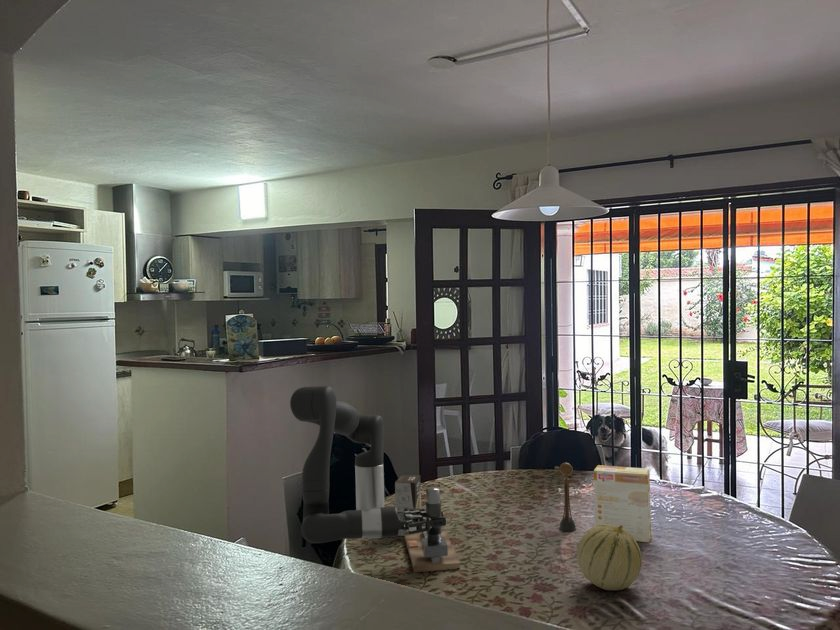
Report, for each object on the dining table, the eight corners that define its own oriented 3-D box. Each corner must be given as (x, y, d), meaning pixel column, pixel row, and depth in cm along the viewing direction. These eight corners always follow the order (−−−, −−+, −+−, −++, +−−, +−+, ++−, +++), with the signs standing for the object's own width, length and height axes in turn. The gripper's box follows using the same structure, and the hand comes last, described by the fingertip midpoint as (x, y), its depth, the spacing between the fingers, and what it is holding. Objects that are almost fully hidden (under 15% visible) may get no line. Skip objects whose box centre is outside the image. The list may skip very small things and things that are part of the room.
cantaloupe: (569, 576, 155) (568, 515, 155) (626, 572, 156) (625, 512, 156) (590, 603, 140) (589, 537, 140) (653, 599, 142) (652, 533, 141)
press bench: (404, 538, 183) (404, 528, 183) (444, 535, 185) (444, 525, 185) (414, 572, 160) (413, 560, 160) (460, 568, 161) (459, 557, 161)
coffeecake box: (651, 535, 181) (650, 468, 181) (649, 543, 175) (647, 474, 175) (598, 528, 188) (597, 464, 188) (594, 536, 181) (593, 469, 181)
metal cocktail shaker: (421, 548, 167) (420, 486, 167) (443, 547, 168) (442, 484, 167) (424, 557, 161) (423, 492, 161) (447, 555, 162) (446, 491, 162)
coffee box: (416, 537, 184) (415, 482, 184) (395, 536, 186) (393, 482, 186) (422, 526, 193) (421, 474, 193) (402, 525, 195) (401, 474, 195)
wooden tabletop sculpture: (554, 529, 188) (552, 463, 188) (558, 524, 192) (556, 459, 192) (573, 532, 185) (572, 465, 185) (577, 527, 189) (576, 461, 189)
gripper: (380, 517, 155) (448, 512, 157) (377, 500, 169) (439, 496, 172) (381, 547, 155) (449, 542, 158) (378, 527, 169) (440, 523, 172)
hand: (443, 518), depth 165 cm, fingers closed on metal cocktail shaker, 4 cm apart
